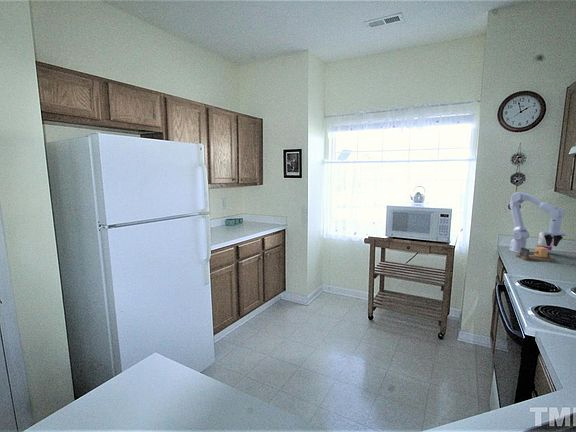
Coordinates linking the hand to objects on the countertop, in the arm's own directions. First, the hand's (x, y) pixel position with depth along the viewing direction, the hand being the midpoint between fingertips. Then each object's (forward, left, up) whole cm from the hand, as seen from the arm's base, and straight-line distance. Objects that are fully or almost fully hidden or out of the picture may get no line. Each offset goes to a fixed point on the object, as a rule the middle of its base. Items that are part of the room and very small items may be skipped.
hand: (551, 245), depth 210 cm
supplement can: (-17, +9, -10) cm, 21 cm away
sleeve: (0, -6, -7) cm, 10 cm away
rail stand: (0, -10, -9) cm, 13 cm away
